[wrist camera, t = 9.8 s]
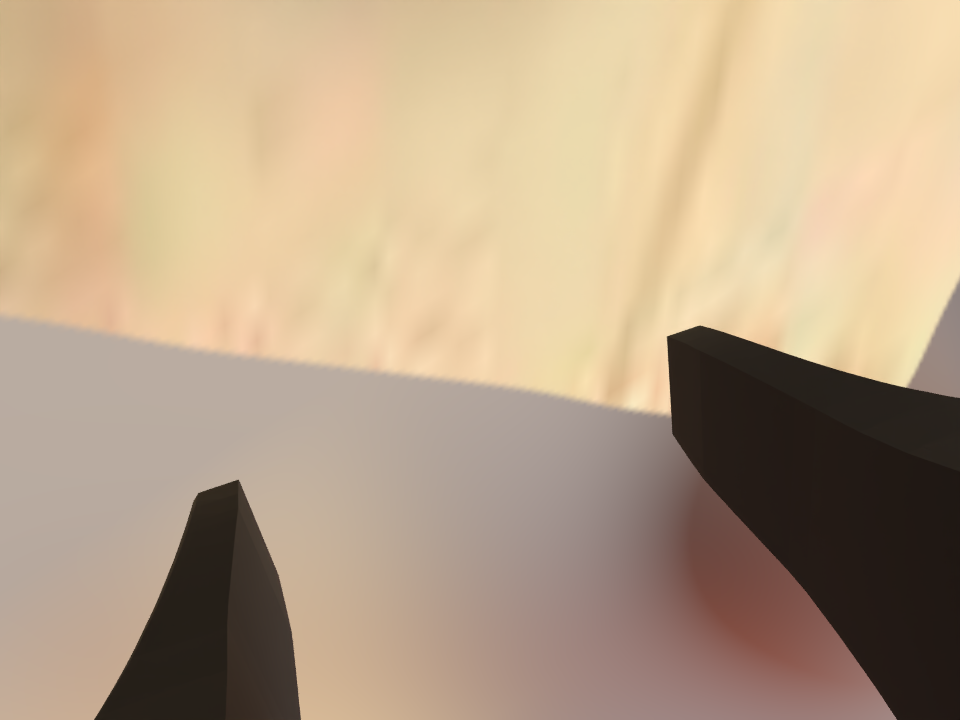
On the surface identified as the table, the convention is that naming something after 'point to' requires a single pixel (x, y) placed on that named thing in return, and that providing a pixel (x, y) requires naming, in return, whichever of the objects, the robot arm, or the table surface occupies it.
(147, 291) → the table surface
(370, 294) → the table surface
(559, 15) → the table surface
